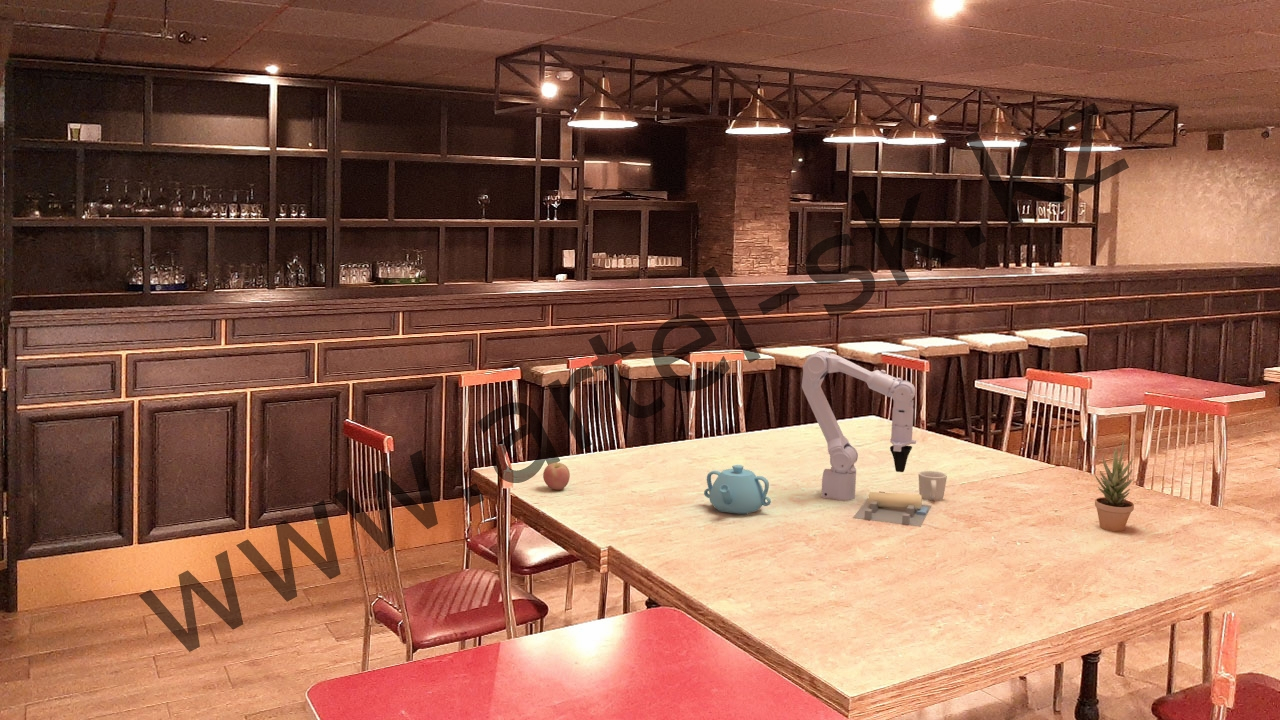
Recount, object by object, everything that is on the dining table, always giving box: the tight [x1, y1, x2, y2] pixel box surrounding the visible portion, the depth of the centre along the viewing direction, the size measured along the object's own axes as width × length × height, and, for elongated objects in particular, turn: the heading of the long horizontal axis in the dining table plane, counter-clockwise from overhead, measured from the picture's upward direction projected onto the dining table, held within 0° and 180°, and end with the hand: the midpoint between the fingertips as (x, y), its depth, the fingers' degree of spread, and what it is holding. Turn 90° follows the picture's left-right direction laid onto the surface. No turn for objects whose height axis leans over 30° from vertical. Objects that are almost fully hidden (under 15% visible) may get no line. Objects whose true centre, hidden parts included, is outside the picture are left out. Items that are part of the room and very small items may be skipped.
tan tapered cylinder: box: [867, 491, 923, 509], centre depth 287 cm, size 14×4×4 cm, turn 67°
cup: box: [918, 470, 948, 502], centre depth 299 cm, size 11×8×8 cm
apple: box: [542, 462, 571, 491], centre depth 306 cm, size 8×8×8 cm
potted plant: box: [1094, 438, 1135, 532], centre depth 275 cm, size 10×10×25 cm
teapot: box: [703, 464, 772, 516], centre depth 285 cm, size 20×20×13 cm
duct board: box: [852, 491, 932, 528], centre depth 285 cm, size 18×22×3 cm
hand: (899, 471), depth 292 cm, fingers closed
